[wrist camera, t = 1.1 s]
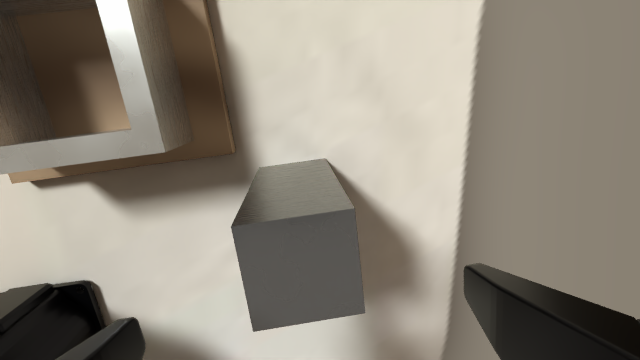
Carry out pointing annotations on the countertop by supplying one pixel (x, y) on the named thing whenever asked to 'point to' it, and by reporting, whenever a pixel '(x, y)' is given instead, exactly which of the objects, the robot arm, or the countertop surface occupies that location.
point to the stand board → (104, 91)
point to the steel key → (298, 247)
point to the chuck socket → (133, 77)
